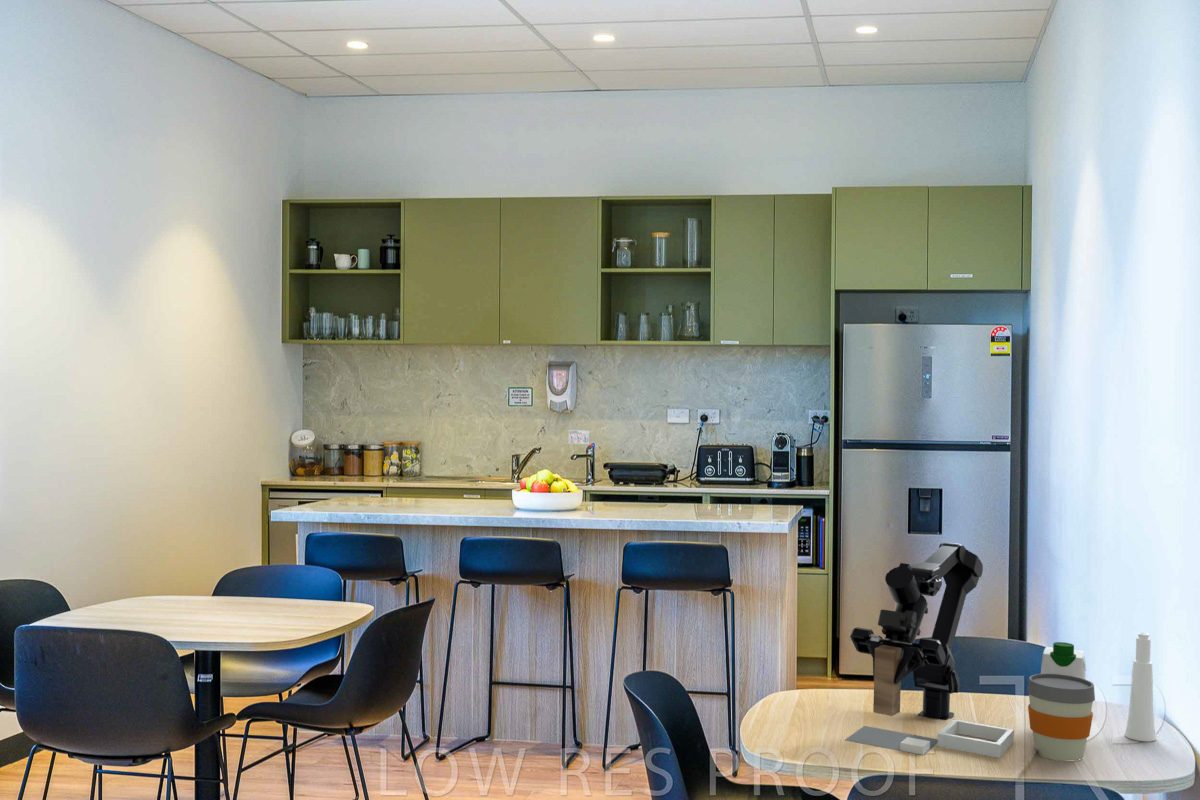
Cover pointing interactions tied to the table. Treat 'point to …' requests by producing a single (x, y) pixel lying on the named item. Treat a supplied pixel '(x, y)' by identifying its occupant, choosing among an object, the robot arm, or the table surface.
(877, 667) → the walnut handle
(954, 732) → the box
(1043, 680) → the reusable coffee cup
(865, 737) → the slate board
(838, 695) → the table surface
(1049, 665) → the milk carton
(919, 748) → the tile on board
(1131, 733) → the cosmetic bottle
